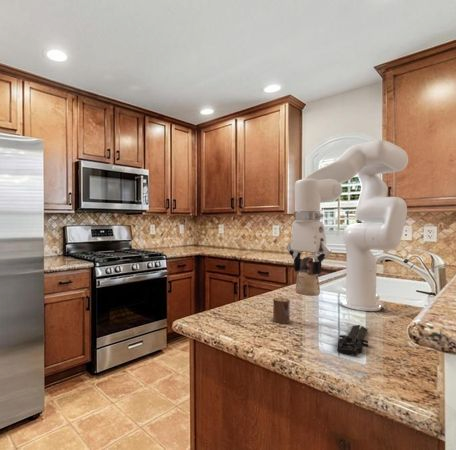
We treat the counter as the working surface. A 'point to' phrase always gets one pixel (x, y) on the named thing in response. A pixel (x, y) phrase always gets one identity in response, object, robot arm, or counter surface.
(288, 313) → the glossy brown cylinder
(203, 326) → the counter surface
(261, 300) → the counter surface
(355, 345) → the dark flat slotted piece
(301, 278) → the figurine
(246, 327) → the counter surface
